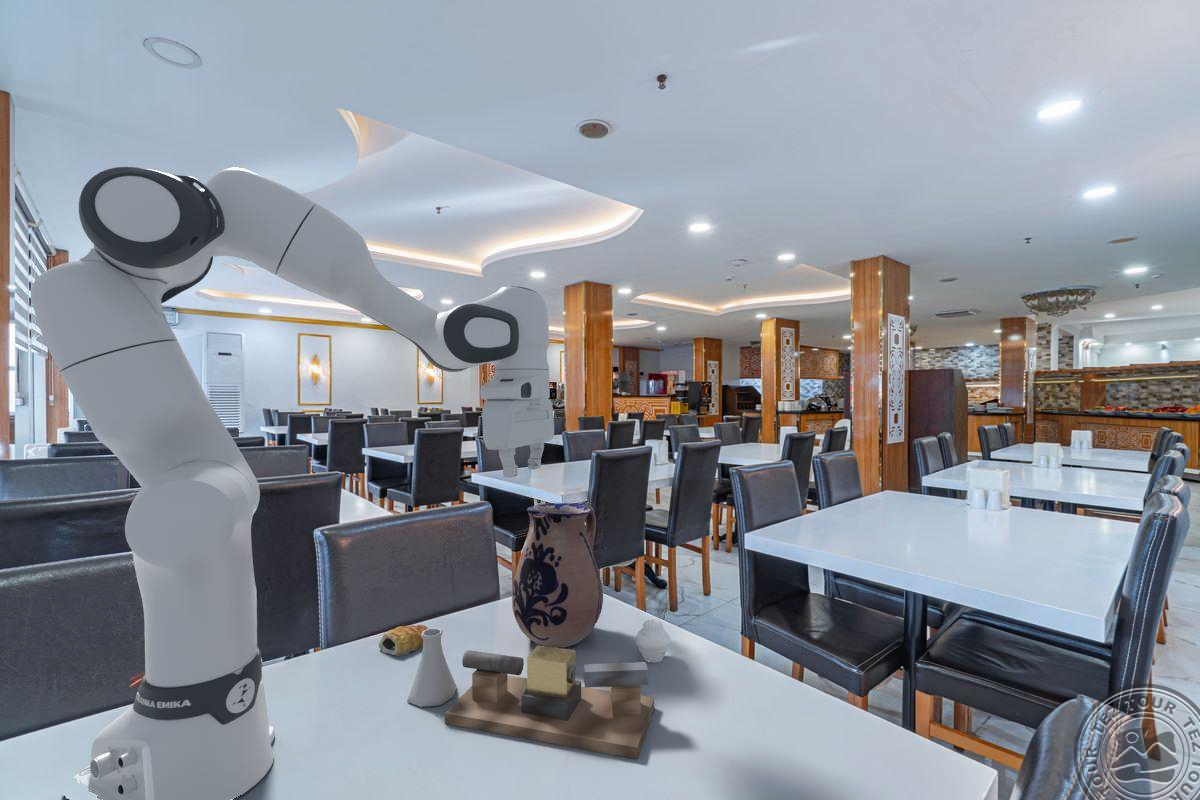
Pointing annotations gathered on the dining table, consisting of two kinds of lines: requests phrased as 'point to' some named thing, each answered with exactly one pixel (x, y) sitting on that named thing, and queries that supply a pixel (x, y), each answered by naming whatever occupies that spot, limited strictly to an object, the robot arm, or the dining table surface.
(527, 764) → the dining table surface
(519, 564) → the ceramic pitcher
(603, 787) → the dining table surface
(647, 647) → the white rounded piece
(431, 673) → the flask
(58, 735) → the dining table surface
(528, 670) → the tan rectangular block
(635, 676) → the shaft stand
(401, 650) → the pastry
